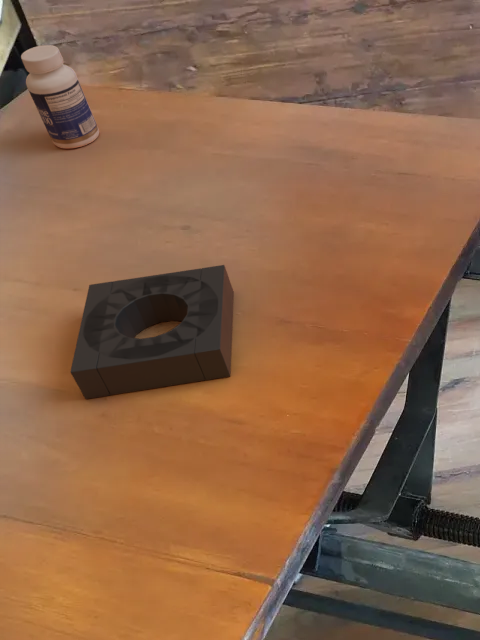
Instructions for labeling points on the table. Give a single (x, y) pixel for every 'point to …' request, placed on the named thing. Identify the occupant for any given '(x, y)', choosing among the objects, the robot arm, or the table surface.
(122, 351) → the socket plate
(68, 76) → the pill bottle
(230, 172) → the table surface
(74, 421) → the table surface
